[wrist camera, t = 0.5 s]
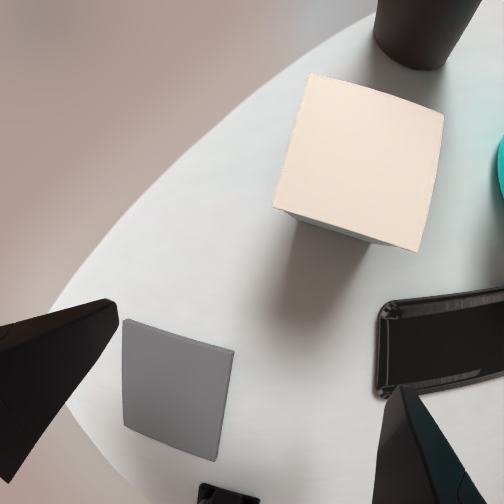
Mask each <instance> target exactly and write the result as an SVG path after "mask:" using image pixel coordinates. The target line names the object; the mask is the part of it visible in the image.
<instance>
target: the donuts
mask: <svg viewBox="0 0 504 504" xmlns="http://www.w3.org/2000/svg"><path fill="white" fill-rule="evenodd" d="M498 178H499V183H500V188H501V192H502V195H503V198H504V136H503V138H502V140H501V143H500V147H499V152H498Z"/></svg>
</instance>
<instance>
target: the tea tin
mask: <svg viewBox="0 0 504 504" xmlns="http://www.w3.org/2000/svg"><path fill="white" fill-rule="evenodd" d="M443 122H444V115H443V114H440V113H438V112H436V111H433V110H431V109H428V108H426V107H423V106H421V105H418V104H415V103H413V102H410V101H407V100H405V99H402V98H399V97H396V96H393V95H390V94H387V93H384V92H381V91H377V90H374V89H371V88H367V87H364V86H360V85H357V84H353V83H349V82H346V81H342V80H338V79H333V78H329V77H325V76H320V75H316V74H311V73H309V76H308V79H307V83H306V86H305V90H304V93H303V97H302V100H301V104H300V107H299V111H298V114H297V118H296V121H295V125H294V128H293V132H292V135H291V138H290V142H289V145H288V149H287V152H286V156H285V159H284V163H283V166H282V170H281V173H280V177H279V180H278V183H277V187H276V190H275V194H274V197H273V201H272V204H271V207H273V208H276V209H280V210H283V211H285V212H286V213H288V214H289V215H291V216H292V217H294V218H295V219H297V220H299V221H302V222H306V223H309V224H312V225H316V226H319V227H322V228H325V229H329V230H332V231H335V232H338V233H341V234H344V235H348V236H351V237H354V238H357V239H360V240H363V241H366V242H369V243H374V244H381V245H388V246H396V247H400V248H403V249H406V250H409V251H412V252H416V253H418V249H419V246H420V242H421V238H422V235H423V231H424V227H425V223H426V219H427V215H428V210H429V206H430V202H431V197H432V192H433V187H434V182H435V177H436V171H437V165H438V159H439V153H440V146H441V139H442V131H443Z"/></svg>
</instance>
